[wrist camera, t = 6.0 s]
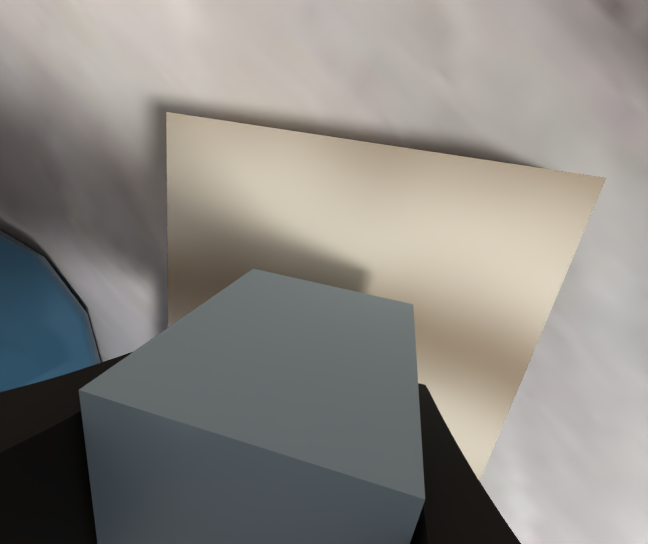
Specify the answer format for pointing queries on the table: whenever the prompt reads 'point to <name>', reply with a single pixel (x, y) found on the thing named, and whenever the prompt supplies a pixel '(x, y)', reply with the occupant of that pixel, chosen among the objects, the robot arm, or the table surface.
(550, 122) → the table surface
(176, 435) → the block
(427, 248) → the plinth
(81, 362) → the wine bottle
